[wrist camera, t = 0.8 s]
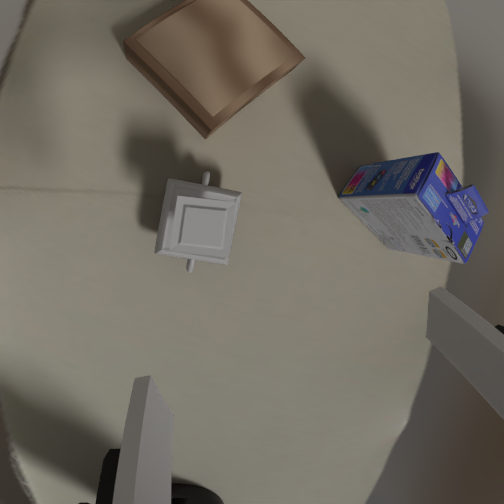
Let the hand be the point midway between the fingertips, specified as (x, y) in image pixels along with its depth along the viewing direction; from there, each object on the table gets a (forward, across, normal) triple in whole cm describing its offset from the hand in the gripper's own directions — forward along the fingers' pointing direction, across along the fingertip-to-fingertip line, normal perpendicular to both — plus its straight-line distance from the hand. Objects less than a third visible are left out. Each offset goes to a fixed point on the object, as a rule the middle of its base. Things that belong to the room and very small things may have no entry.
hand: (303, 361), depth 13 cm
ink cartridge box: (+22, -16, +2) cm, 27 cm away
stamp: (+19, +4, -3) cm, 20 cm away
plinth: (+22, -1, -18) cm, 29 cm away
